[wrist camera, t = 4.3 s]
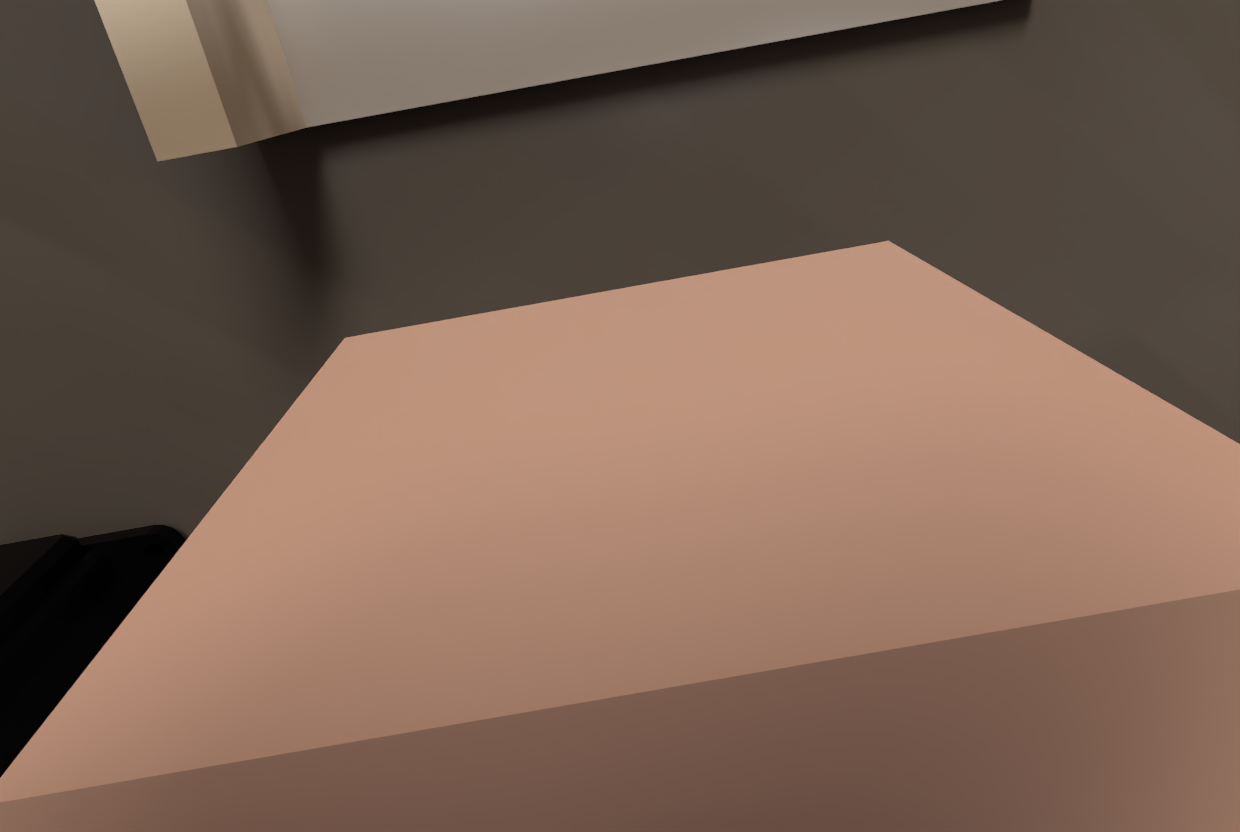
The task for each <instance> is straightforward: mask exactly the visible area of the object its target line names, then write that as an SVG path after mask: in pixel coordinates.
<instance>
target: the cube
mask: <svg viewBox="0 0 1240 832" xmlns="http://www.w3.org/2000/svg"><path fill="white" fill-rule="evenodd" d="M0 832H1240V444H1238V443H1237V442H1235V441H1233V440H1232V439H1230V438H1228V437H1226V436H1225V435H1223V434H1221V433H1219V432H1218V431H1216V430H1214V429H1213V428H1211V427H1209V426H1207V425H1206V424H1204V423H1202V422H1200V421H1199V420H1197V419H1195V418H1194V417H1192V416H1190V415H1188V414H1187V413H1185V412H1183V411H1181V410H1180V409H1178V408H1176V407H1175V406H1173V405H1171V404H1169V403H1168V402H1166V401H1164V400H1162V399H1161V398H1159V397H1157V396H1156V395H1154V394H1152V393H1150V392H1149V391H1147V390H1145V389H1143V388H1142V387H1140V386H1138V385H1137V384H1135V383H1133V382H1131V381H1130V380H1128V379H1126V378H1124V377H1123V376H1121V375H1119V374H1118V373H1116V372H1114V371H1112V370H1111V369H1109V368H1107V367H1105V366H1104V365H1102V364H1100V363H1099V362H1097V361H1095V360H1093V359H1092V358H1090V357H1088V356H1086V355H1085V354H1083V353H1081V352H1080V351H1078V350H1076V349H1074V348H1073V347H1071V346H1069V345H1067V344H1066V343H1064V342H1062V341H1061V340H1059V339H1057V338H1055V337H1054V336H1052V335H1050V334H1049V333H1047V332H1045V331H1043V330H1042V329H1040V328H1038V327H1036V326H1035V325H1033V324H1031V323H1030V322H1028V321H1026V320H1024V319H1023V318H1021V317H1019V316H1017V315H1016V314H1014V313H1012V312H1011V311H1009V310H1007V309H1005V308H1004V307H1002V306H1000V305H998V304H997V303H995V302H993V301H992V300H990V299H988V298H986V297H985V296H983V295H981V294H979V293H978V292H976V291H974V290H973V289H971V288H969V287H967V286H966V285H964V284H962V283H960V282H959V281H957V280H955V279H954V278H952V277H950V276H948V275H947V274H945V273H943V272H941V271H940V270H938V269H936V268H935V267H933V266H931V265H929V264H928V263H926V262H924V261H922V260H921V259H919V258H917V257H916V256H914V255H912V254H910V253H909V252H907V251H905V250H903V249H902V248H900V247H898V246H897V245H895V244H893V243H891V242H890V241H885V242H880V243H874V244H868V245H863V246H857V247H852V248H846V249H840V250H835V251H829V252H823V253H818V254H812V255H807V256H801V257H795V258H790V259H784V260H779V261H773V262H767V263H762V264H756V265H751V266H745V267H739V268H734V269H728V270H723V271H717V272H711V273H706V274H700V275H695V276H689V277H683V278H678V279H672V280H667V281H661V282H655V283H650V284H644V285H639V286H633V287H627V288H622V289H616V290H610V291H605V292H599V293H594V294H588V295H582V296H577V297H571V298H566V299H560V300H554V301H549V302H543V303H538V304H532V305H526V306H521V307H515V308H510V309H504V310H498V311H493V312H487V313H482V314H476V315H470V316H465V317H459V318H454V319H448V320H442V321H437V322H431V323H426V324H420V325H414V326H409V327H403V328H397V329H392V330H386V331H381V332H375V333H369V334H364V335H358V336H353V337H347V338H344V340H343V341H342V342H341V343H340V345H339V346H338V347H337V349H336V350H335V351H334V352H333V354H332V355H331V356H330V358H329V359H328V360H327V361H326V363H325V364H324V365H323V366H322V368H321V369H320V370H319V372H318V373H317V374H316V375H315V377H314V378H313V379H312V381H311V382H310V383H309V384H308V386H307V387H306V388H305V389H304V391H303V392H302V393H301V395H300V396H299V397H298V398H297V400H296V401H295V402H294V403H293V405H292V406H291V407H290V409H289V410H288V411H287V412H286V414H285V415H284V416H283V418H282V419H281V420H280V421H279V423H278V424H277V425H276V426H275V428H274V429H273V430H272V432H271V433H270V434H269V435H268V437H267V438H266V439H265V441H264V442H263V443H262V444H261V446H260V447H259V448H258V449H257V451H256V452H255V453H254V455H253V456H252V457H251V458H250V460H249V461H248V462H247V464H246V465H245V466H244V467H243V469H242V470H241V471H240V472H239V474H238V475H237V476H236V478H235V479H234V480H233V481H232V483H231V484H230V485H229V486H228V488H227V489H226V490H225V492H224V493H223V494H222V495H221V497H220V498H219V499H218V501H217V502H216V503H215V504H214V506H213V507H212V508H211V509H210V511H209V512H208V513H207V515H206V516H205V517H204V518H203V520H202V521H201V522H200V524H199V525H198V526H197V527H196V529H195V530H194V531H193V532H192V534H191V535H190V536H189V538H188V539H187V540H186V541H185V543H184V544H183V545H182V546H181V548H180V549H179V550H178V552H177V553H176V554H175V555H174V557H173V558H172V559H171V561H170V562H169V563H168V564H167V566H166V567H165V568H164V569H163V571H162V572H161V573H160V575H159V576H158V577H157V578H156V580H155V581H154V582H153V584H152V585H151V586H150V587H149V589H148V590H147V591H146V592H145V594H144V595H143V596H142V598H141V599H140V600H139V601H138V603H137V604H136V605H135V607H134V608H133V609H132V610H131V612H130V613H129V614H128V615H127V617H126V618H125V619H124V621H123V622H122V623H121V624H120V626H119V627H118V628H117V629H116V631H115V632H114V633H113V635H112V636H111V637H110V638H109V640H108V641H107V642H106V644H105V645H104V646H103V647H102V649H101V650H100V651H99V652H98V654H97V655H96V656H95V658H94V659H93V660H92V661H91V663H90V664H89V665H88V667H87V668H86V669H85V670H84V672H83V673H82V674H81V675H80V677H79V678H78V679H77V681H76V682H75V683H74V684H73V686H72V687H71V688H70V690H69V691H68V692H67V693H66V695H65V696H64V697H63V698H62V700H61V701H60V702H59V704H58V705H57V706H56V707H55V709H54V710H53V711H52V712H51V714H50V715H49V716H48V718H47V719H46V720H45V721H44V723H43V724H42V725H41V727H40V728H39V729H38V730H37V732H36V733H35V734H34V735H33V737H32V738H31V739H30V741H29V742H28V743H27V744H26V746H25V747H24V748H23V750H22V751H21V752H20V753H19V755H18V756H17V757H16V758H15V760H14V761H13V762H12V764H11V765H10V766H9V767H8V769H7V770H6V771H5V773H4V774H3V775H2V776H1V778H0Z"/></svg>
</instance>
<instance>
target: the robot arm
mask: <svg viewBox="0 0 1240 832" xmlns="http://www.w3.org/2000/svg"><path fill="white" fill-rule="evenodd" d="M152 543H157V544H159V545H161V546H163V547H164V548H165V549H166V551H167V552H161V551H159V550H157V549H156V548H155V547H154V546H153V545H152ZM184 543H185V540H184V538H183V537H182V535H181V534H180V533H179V532H178V531H176V530H175V529H173V528H172V527H169V526H165V525H152V526H146V527H140V528H135V529H129V530H124V531H118V532H112V533H107V534H101V535H95V536H90V537H84V538H79V539H77V538H76V537H74V536H69V535H64V534H60V535H55V536H49V537H44V538H38V539H32V540H27V541H21V542H15V543H10V544H4V545H0V778H1V776H2V775H3V774H4V773H5V771H6V770H7V769H8V767H9V766H10V765H11V764H12V762H13V761H14V760H15V758H16V757H17V756H18V755H19V753H20V752H21V751H22V750H23V748H24V747H25V746H26V744H27V743H28V742H29V741H30V739H31V738H32V737H33V735H34V734H35V733H36V732H37V730H38V729H39V728H40V727H41V725H42V724H43V723H44V721H45V720H46V719H47V718H48V716H49V715H50V714H51V712H52V711H53V710H54V709H55V707H56V706H57V705H58V704H59V702H60V701H61V700H62V698H63V697H64V696H65V695H66V693H67V692H68V691H69V690H70V688H71V687H72V686H73V684H74V683H75V682H76V681H77V679H78V678H79V677H80V675H81V674H82V673H83V672H84V670H85V669H86V668H87V667H88V665H89V664H90V663H91V661H92V660H93V659H94V658H95V656H96V655H97V654H98V652H99V651H100V650H101V649H102V647H103V646H104V645H105V644H106V642H107V641H108V640H109V638H110V637H111V636H112V635H113V633H114V632H115V631H116V629H117V628H118V627H119V626H120V624H121V623H122V622H123V621H124V619H125V618H126V617H127V615H128V614H129V613H130V612H131V610H132V609H133V608H134V607H135V605H136V604H137V603H138V601H139V600H140V599H141V598H142V596H143V595H144V594H145V592H146V591H147V590H148V589H149V587H150V586H151V585H152V584H153V582H154V581H155V580H156V578H157V577H158V576H159V575H160V573H161V572H162V571H163V569H164V568H165V567H166V566H167V564H168V563H169V562H170V561H171V559H172V558H173V557H174V555H175V554H176V553H177V552H178V550H179V549H180V548H181V546H182V545H183V544H184Z"/></svg>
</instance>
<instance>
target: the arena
mask: <svg viewBox="0 0 1240 832" xmlns="http://www.w3.org/2000/svg"><path fill="white" fill-rule="evenodd" d="M94 1H95V3H96V6H97V8H98V11H99V13H100V16H101V18H102V21H103V23H104V26H105V29H106V31H107V34H108V36H109V39H110V41H111V44H112V46H113V49H114V52H115V54H116V57H117V59H118V62H119V64H120V67H121V69H122V72H123V75H124V77H125V80H126V82H127V85H128V87H129V90H130V92H131V95H132V98H133V100H134V103H135V105H136V108H137V110H138V113H139V115H140V118H141V121H142V123H143V126H144V128H145V131H146V133H147V136H148V138H149V141H150V143H151V146H152V149H153V151H154V154H155V156H156V159H157V161H163V160H168V159H174V158H179V157H185V156H190V155H196V154H201V153H206V152H212V151H217V150H223V149H228V148H234V147H239V146H242V145H246V144H249V143H253V142H257V141H260V140H264V139H267V138H271V137H275V136H278V135H282V134H285V133H289V132H293V131H296V130H300V129H303V128H307V127H312V126H318V125H323V124H329V123H334V122H340V121H345V120H351V119H356V118H362V117H367V116H373V115H378V114H383V113H389V112H394V111H400V110H405V109H411V108H416V107H422V106H427V105H433V104H438V103H444V102H449V101H454V100H460V99H465V98H471V97H476V96H482V95H487V94H493V93H498V92H504V91H509V90H515V89H520V88H525V87H531V86H536V85H542V84H547V83H553V82H558V81H564V80H569V79H575V78H580V77H586V76H591V75H596V74H602V73H607V72H613V71H618V70H624V69H629V68H635V67H640V66H646V65H651V64H657V63H662V62H667V61H673V60H678V59H684V58H689V57H695V56H700V55H706V54H711V53H717V52H722V51H728V50H733V49H738V48H744V47H749V46H755V45H760V44H766V43H771V42H777V41H782V40H788V39H793V38H799V37H804V36H809V35H815V34H820V33H826V32H831V31H837V30H842V29H848V28H853V27H859V26H864V25H870V24H875V23H880V22H886V21H891V20H897V19H902V18H908V17H913V16H919V15H924V14H930V13H935V12H941V11H946V10H951V9H957V8H962V7H968V6H973V5H979V4H984V3H990V2H995V1H1001V0H94Z"/></svg>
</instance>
